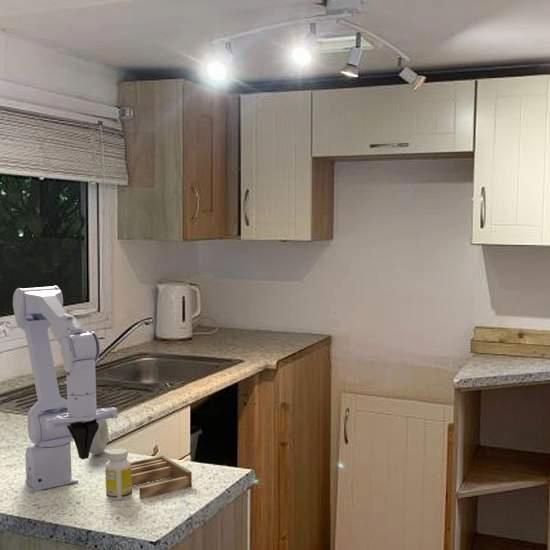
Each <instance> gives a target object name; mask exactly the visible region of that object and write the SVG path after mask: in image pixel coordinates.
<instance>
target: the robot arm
mask: <svg viewBox="0 0 550 550" xmlns="http://www.w3.org/2000/svg"><path fill="white" fill-rule="evenodd" d="M63 305H64V297H63V292H62V290H61V289H60V287H59V286H58V285H53V286H43V287H42V286H40V287H39V286H38V287H27V288H26V287H25V288H21V287H18V288H16V289H15V291H14V293H13V296H12V308H13V313H14V320H15V322H16V326H17V328H19V329H21V330H23V331H24V334H25V338H26V342H27V346H28V347H27V348H28V352H29V360H30V364H31V371H32V375H33V382H34V386H35V391H36V399H37V402H35V403H34V404H33V405H32V406H31V407H30V409H29V410H28V412H27V415H26V416H27V434H28V438H29V440H30V441H31V443H33V445H31V446H28V447H26V450H25V479H24V480H25V482H26V483H27V484H28V485H29V486H30V487H32V488H33V489H34V490H35V491H42V490H47V489H52V488H56V487H61V486H65V485H69V484H73V483H78V482H79V479H78V478H77V477H75V476H74V475H73V473H72V448H71V443H72V442H74V444H75V447H76V450H77V454H78V458H80V460H86V459H89V457H90V448H91V444H92V441H93V439H94V436H95V434H96V432H97V430H98V428H99V424H98V423H97V420H103V419H106V420H108V419H118V417H119V414H118V408H116V407H105V408H103V407H102V408H97V383H96V382H97V381H96V379H97V377H96V361H97V360H98V359H99V357H100V352H101V346H100V340H99V338H98V336H97V334H96V332H95V331H86V330H85V328H84V327H83V326H82V325H81V323H80V322H79V320H77V318H76V317H75V316H74V315H73V314H69V313H67V312H66V311H65V308H64V307H63ZM49 328H50V331H51V334H52V336H53V337H54V338H55V340H56V341H57V342H58V344H59V345H60V352H61V358H62V362H63V363H62V364H63V370H64V371H65V372H66V375H65V376H66V397H67V398H64V397H62V396H61V394H60V389H59V383H58V379H57V373H56V368H55V361H54V357H53V351H52V348H51V342H50V337H49V331H48V330H49Z"/></svg>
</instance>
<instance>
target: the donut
mask: <svg viewBox="0 0 550 550" xmlns="http://www.w3.org/2000/svg"><path fill="white" fill-rule="evenodd" d="M97 423H98V424H99V428H98V430H97V432H96V434H95V436H94V439H93V441H92V444H91V448H90V452H89V454H92V455H94V456H99V455H101V454H102V453H103V452H104V451H105V450H106V447H107V446H108V445H107V444H108V439H109V427H108V423H107V419H103V420H97Z"/></svg>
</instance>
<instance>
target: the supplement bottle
mask: <svg viewBox="0 0 550 550" xmlns="http://www.w3.org/2000/svg"><path fill="white" fill-rule="evenodd" d="M107 452H108V455H107V458H108V461H107V462H106V463H105V466H104V468H105V494H106V499H108V500H110V501H123V500H127V499H130V498H131V497H132V495H133V487H132V472H131V462H132V461H131V460H129V459H128V458H129V457H128V454H129V453H128V449H126V448H113V449H110V450H108V451H107Z"/></svg>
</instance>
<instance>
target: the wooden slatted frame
mask: <svg viewBox="0 0 550 550" xmlns="http://www.w3.org/2000/svg"><path fill="white" fill-rule="evenodd" d="M130 462H131V472H132V486H133V487H135V486H134V485H137V486H139V487H138V490H139V491H138V492H139V493H138V495H139V499H140V500H144V498H145V499H148V498H153V497H156V496H161V495H165V494H168V493H169V494H170V493H174V492H177V491H181V490H184V489H190V488H192V487H193V484H192V483H193V480H192V477H193V476H192V471H191V470H189V469H187V468H186V467H184V466H183V465H180V464H179V463H177V462H175V461H173V460H171V459H170V458H168V457H166V456H164V455H157V456H153V457H148V458H144V459H139V460H135V461H130ZM169 477H172V479H170V478H169ZM164 478H167V479H168V480H165V479H164ZM173 478H174V479H173ZM160 479H163V480H164V481H163V480H162V481H161V480H160ZM156 480H159V481H158V482H157V481H156ZM152 481H154V482H156V483H153V482H152ZM147 482H150V483H151V484H148V483H147ZM143 483H146V485H144V484H143ZM139 484H142V485H143V486H140V485H139ZM147 484H148V485H147Z"/></svg>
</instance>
